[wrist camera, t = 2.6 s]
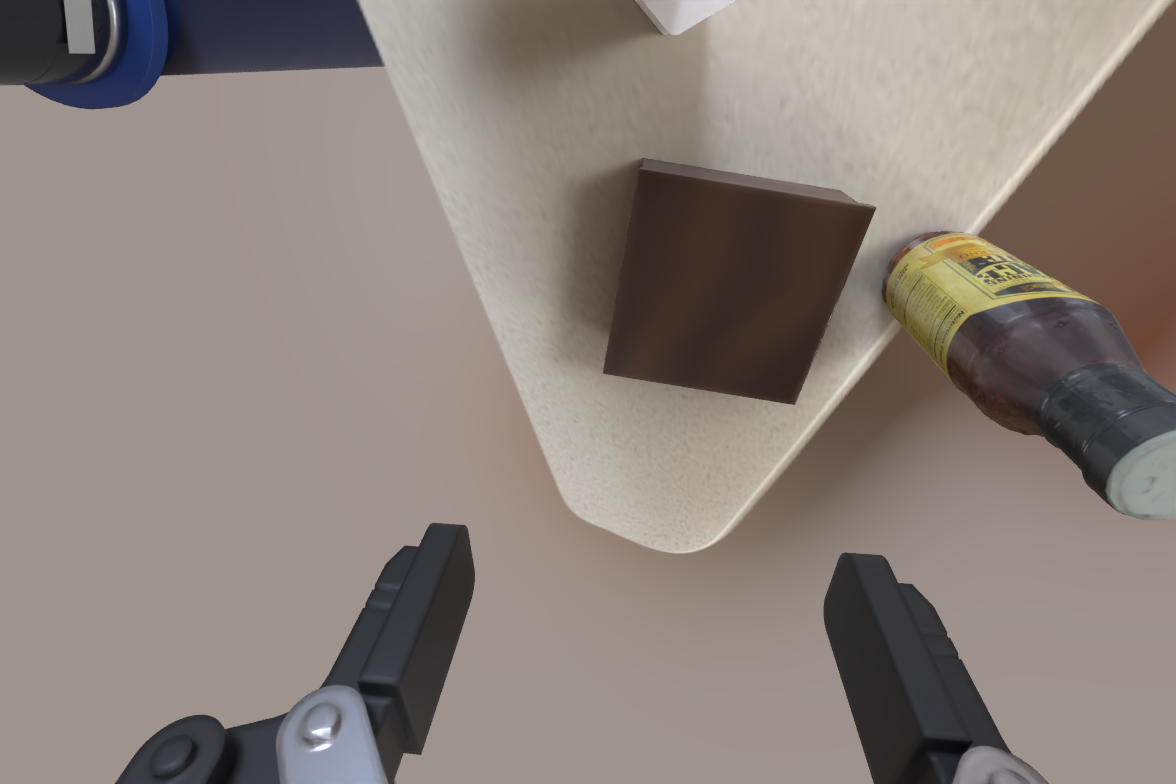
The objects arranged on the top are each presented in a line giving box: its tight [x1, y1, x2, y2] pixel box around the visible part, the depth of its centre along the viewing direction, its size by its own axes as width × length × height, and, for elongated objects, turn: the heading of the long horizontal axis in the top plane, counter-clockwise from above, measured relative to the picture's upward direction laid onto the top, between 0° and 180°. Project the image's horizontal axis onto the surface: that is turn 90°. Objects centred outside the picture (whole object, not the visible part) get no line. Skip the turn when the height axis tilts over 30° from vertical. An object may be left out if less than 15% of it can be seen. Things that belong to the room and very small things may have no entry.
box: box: [603, 158, 876, 405], centre depth 33 cm, size 12×12×5 cm
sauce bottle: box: [882, 231, 1176, 520], centre depth 26 cm, size 7×6×20 cm
